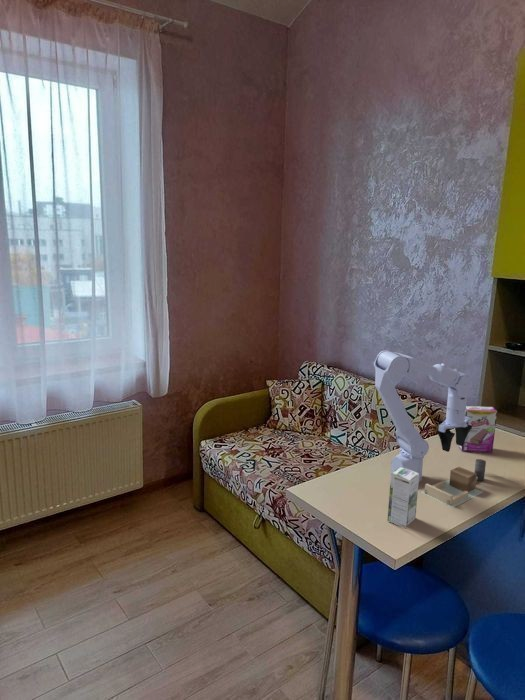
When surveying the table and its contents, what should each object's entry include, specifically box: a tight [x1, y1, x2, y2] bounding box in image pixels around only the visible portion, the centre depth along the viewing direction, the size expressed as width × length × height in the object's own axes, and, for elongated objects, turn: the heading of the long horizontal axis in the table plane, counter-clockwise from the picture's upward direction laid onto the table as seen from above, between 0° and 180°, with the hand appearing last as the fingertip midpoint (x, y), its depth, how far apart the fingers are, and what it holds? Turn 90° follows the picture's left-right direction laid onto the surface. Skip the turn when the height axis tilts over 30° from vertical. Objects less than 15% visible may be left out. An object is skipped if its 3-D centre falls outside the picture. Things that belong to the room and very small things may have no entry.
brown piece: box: [449, 458, 487, 492], centre depth 154 cm, size 13×6×6 cm, turn 125°
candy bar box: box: [457, 405, 498, 453], centre depth 180 cm, size 11×5×16 cm, turn 84°
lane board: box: [420, 478, 484, 509], centre depth 149 cm, size 16×11×4 cm
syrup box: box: [387, 467, 420, 529], centre depth 133 cm, size 6×6×14 cm
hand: (452, 447), depth 160 cm, fingers open, 7 cm apart
